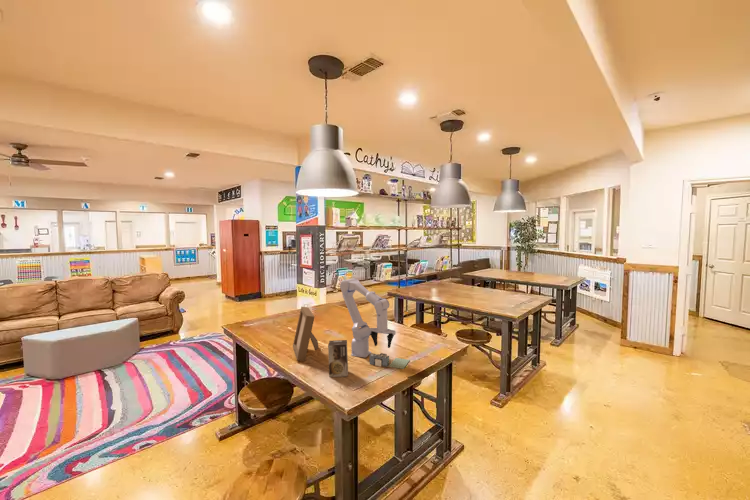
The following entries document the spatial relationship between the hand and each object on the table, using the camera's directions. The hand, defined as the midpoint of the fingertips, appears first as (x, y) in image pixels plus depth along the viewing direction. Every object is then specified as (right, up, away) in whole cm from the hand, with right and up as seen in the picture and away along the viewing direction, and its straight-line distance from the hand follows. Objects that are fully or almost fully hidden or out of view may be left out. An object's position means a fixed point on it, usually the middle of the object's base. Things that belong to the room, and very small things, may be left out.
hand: (382, 346), depth 170 cm
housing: (-2, -8, -4) cm, 9 cm away
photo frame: (-43, -8, +13) cm, 46 cm away
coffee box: (-22, -10, -14) cm, 28 cm away
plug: (-1, -8, -2) cm, 9 cm away
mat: (+9, -8, -3) cm, 12 cm away
